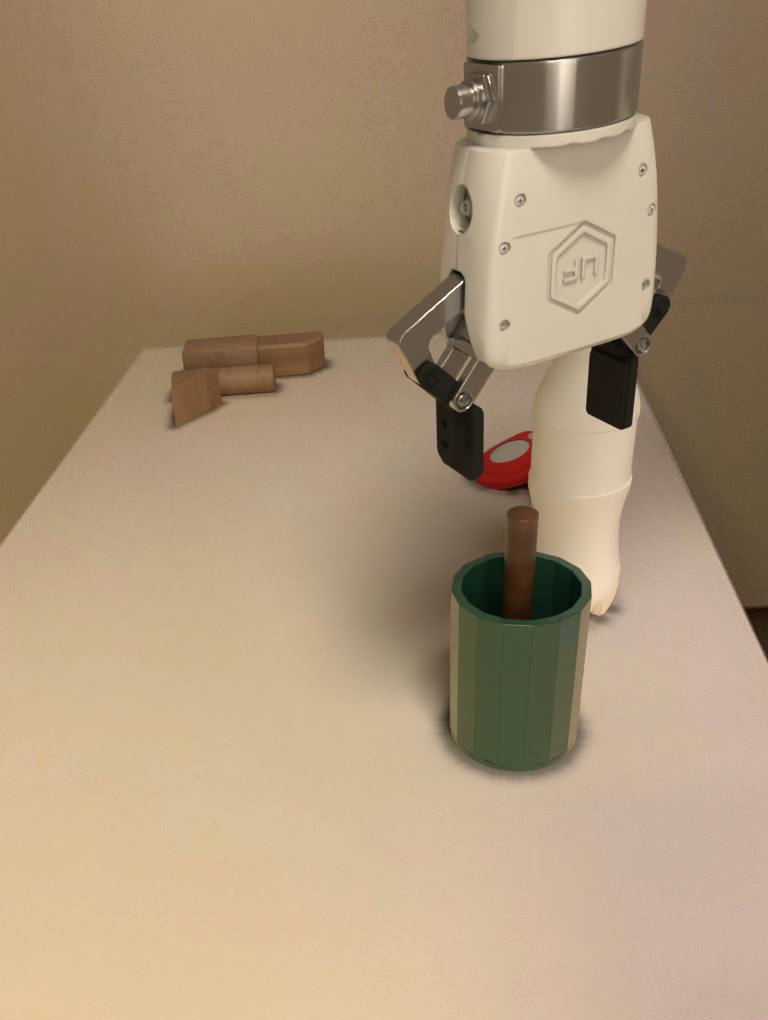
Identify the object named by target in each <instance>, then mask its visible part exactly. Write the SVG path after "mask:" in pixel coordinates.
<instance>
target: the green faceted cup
mask: <svg viewBox="0 0 768 1020" xmlns="http://www.w3.org/2000/svg"><path fill="white" fill-rule="evenodd" d="M504 561H505V550H504V551H503V550H502V551H498V552H492V553H486V554H483V555H481V556H479V557H477V558H475V559H472V560H470V561H468V562H466V563H465V564H463V566H462V567H461V568H460V569H458V571H457V572H456V573H454V575H453V576H452V582H451V588H450V643H449V644H450V652H449V653H450V654H449V655H450V656H449V658H450V659H449V661H450V663H449V667H450V668H449V729H450V735H451V738H452V740H453V742H454V744H455V746H456V747H457V748H458V749H459V751H461V752H462V753H463V755H465V756H466V757H468V758H469V759H471V760H472V761H474V762H476V763H477V764H480V765H482V766H484V767H487V768H491V769H494V770H498V771H503V772H513V773H515V772H517V773H520V772H521V773H522V772H532V771H537V770H541V769H545V768H548V767H550V766H552V765H554V764H557V763H559V762H560V761H561V760H563V759H564V758H565V757H566V756H567V755H569V753H570V752H571V751H572V749H573V747H574V745H575V742H576V739H577V735H578V726H579V720H580V719H579V718H580V708H581V701H582V690H583V681H584V671H585V663H586V654H587V644H588V638H589V637H588V635H589V625H590V619H591V613H590V609H591V600H592V589H591V581H590V580H589V579H588V578H587V576H586V575H585V574H584V573H583V571H582V570H581V569H580V568H579V567H577V566H575V565H573V564H571V563H570V562H568V561H566V560H564V559H562V558H560V557H557V556H553V555H549V554H545V553H541V552H536V565H535V580H534V594H533V609H532V620H515V619H504V618H502V605H503V583H504Z"/></svg>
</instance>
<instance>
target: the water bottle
mask: <svg viewBox="0 0 768 1020" xmlns="http://www.w3.org/2000/svg"><path fill="white" fill-rule="evenodd" d="M590 351H591V347H590V348H587V349H584V350H581V351H577V352H574V353H571V354H568V355H564V356H561V357H558V358H554V359H553V360H552V362H551V364H550V366H549V367H548V368H547V370H546V372H545V374H544V376H543V378H542V379H541V381H540V383H539V384H538V387H537V389H536V392H535V395H534V399H533V402H532V410H531V413H532V415H533V423H532V424H533V425H532V431H533V438H532V455H531V468H530V470H529V475H528V482H527V487H528V492H529V497H530V503H531V507H533V508H535V509H536V510H537V511H538V513H539V520H538V535H537V550H536V552H541V553H545V554H549V555H553V556H557V557H560V558H562V559H564V560H566V561H568V562H570V563H571V564H573V565H575V566H577V567H579V568H580V569H581V570H582V571H583V573H584V574H585V575H586V576H587V578H588V579H589V580H590V581H591V589H592V600H591V609H590V614H592V615H595V616H597V617H600V616H602V615H604V614H605V613H606V612H607V611H608V610H609V608H610V607H611V605H612V604H613V602H614V600H615V597H616V595H617V593H618V592H617V591H618V588H619V584H620V579H621V570H622V564H621V560H620V559H621V558H620V549H619V536H620V535H619V534H620V526H621V525H620V524H621V519H622V514H623V510H624V506H625V503H626V500H627V497H628V494H629V491H630V489H631V487H632V483H633V472H632V467H633V459H634V452H635V443H636V437H637V436H636V435H637V426H638V419H639V417H640V416H641V410H642V409H641V404H642V403H641V395H640V390H639V387H638V382H636V392H635V402H634V412H633V421H632V426H631V427H629V428H626V429H623V430H619V429H617V428H615V427H613V426H611V425H609V424H607V423H605V422H603V421H601V420H599V419H597V418H595V417H593V416H591V415H589V414H588V413H587V412H586V397H587V383H588V369H589V355H590Z"/></svg>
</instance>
